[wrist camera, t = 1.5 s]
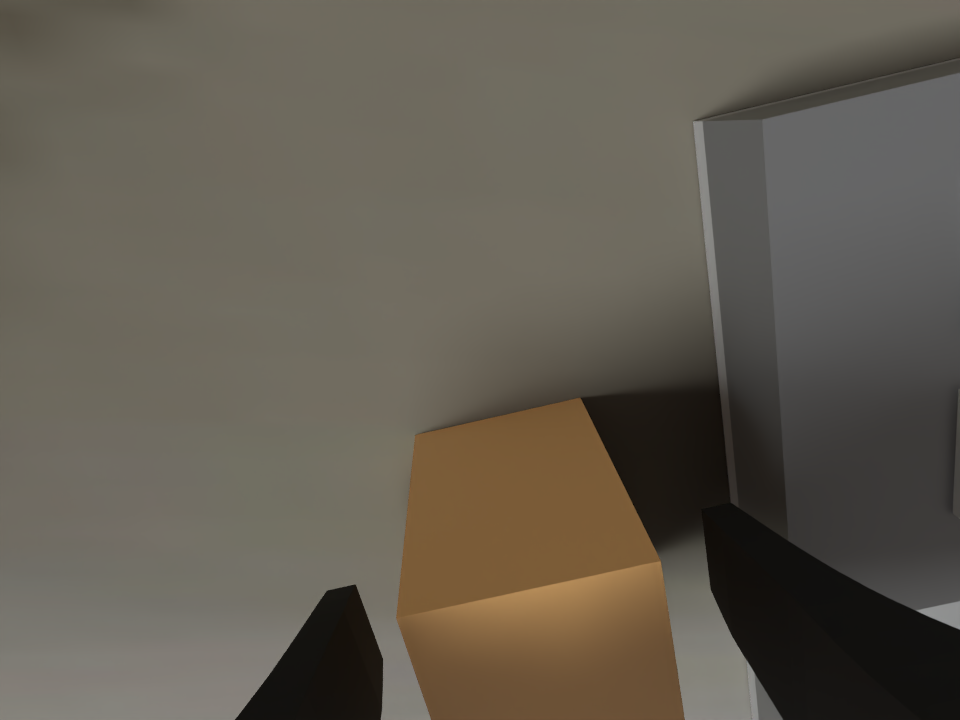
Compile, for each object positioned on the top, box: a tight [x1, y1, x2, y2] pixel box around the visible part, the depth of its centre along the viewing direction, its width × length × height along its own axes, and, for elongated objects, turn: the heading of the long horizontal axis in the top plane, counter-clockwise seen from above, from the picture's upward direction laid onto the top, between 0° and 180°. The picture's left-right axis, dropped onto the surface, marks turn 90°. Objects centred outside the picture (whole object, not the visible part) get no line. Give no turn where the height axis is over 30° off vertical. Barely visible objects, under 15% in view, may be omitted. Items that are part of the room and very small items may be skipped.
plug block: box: [396, 398, 685, 720], centre depth 13 cm, size 4×5×6 cm
